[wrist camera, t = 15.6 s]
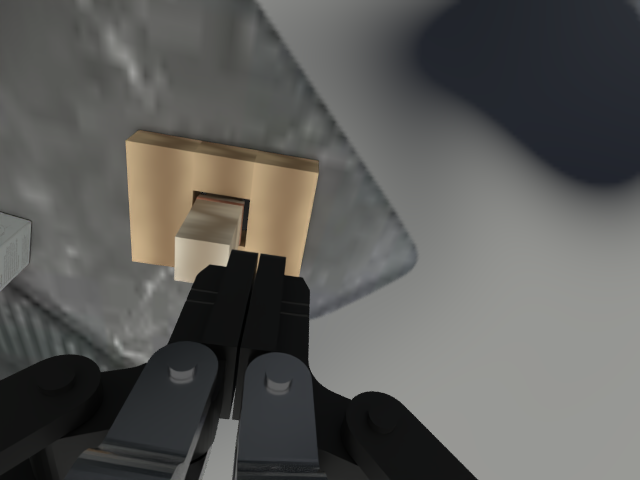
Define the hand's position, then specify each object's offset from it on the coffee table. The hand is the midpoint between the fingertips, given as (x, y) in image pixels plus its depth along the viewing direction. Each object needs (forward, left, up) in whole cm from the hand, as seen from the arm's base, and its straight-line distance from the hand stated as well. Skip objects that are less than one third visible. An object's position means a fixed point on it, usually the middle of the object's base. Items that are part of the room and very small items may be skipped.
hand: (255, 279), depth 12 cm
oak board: (-5, -12, -27) cm, 30 cm away
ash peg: (-5, -12, -27) cm, 30 cm away
